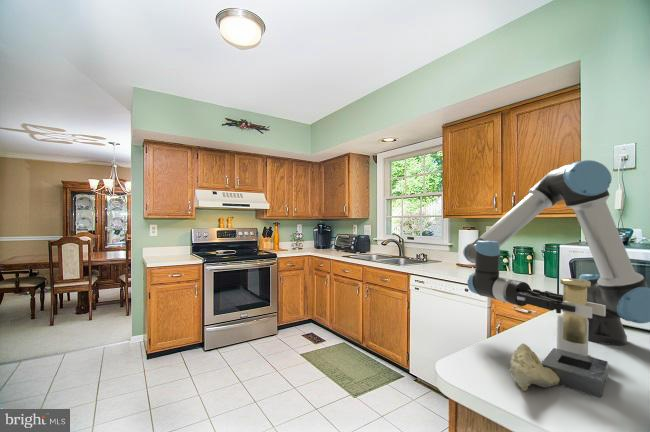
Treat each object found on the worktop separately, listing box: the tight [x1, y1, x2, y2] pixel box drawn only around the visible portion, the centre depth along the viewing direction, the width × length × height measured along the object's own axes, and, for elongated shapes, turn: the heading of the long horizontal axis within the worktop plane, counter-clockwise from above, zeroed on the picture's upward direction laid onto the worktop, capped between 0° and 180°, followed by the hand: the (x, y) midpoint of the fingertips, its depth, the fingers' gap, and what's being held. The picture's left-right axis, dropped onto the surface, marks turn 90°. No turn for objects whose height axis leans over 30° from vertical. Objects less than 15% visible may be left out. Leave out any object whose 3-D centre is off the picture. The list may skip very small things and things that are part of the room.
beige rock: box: [509, 343, 560, 392], centre depth 79 cm, size 15×7×15 cm
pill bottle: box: [556, 311, 589, 356], centre depth 101 cm, size 8×8×15 cm
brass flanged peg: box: [559, 277, 591, 344], centre depth 84 cm, size 6×6×16 cm
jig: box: [541, 347, 609, 399], centre depth 84 cm, size 16×12×4 cm
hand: (597, 311), depth 79 cm, fingers closed on brass flanged peg, 5 cm apart
